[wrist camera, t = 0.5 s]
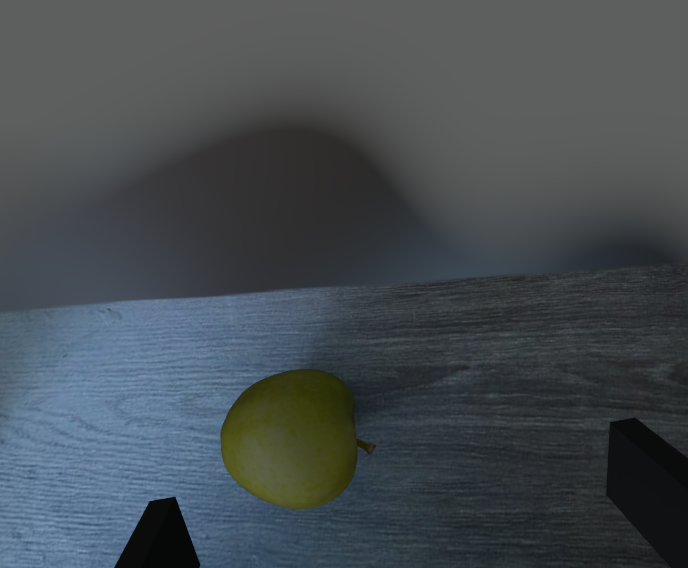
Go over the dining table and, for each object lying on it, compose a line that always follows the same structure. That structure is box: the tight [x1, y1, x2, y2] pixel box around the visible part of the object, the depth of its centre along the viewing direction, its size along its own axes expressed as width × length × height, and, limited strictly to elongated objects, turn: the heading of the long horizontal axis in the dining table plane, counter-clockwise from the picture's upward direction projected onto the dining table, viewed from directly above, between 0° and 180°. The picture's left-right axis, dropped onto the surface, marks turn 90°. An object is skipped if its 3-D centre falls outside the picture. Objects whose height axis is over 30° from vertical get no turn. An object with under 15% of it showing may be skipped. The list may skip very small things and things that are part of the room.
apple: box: [220, 369, 375, 509], centre depth 23 cm, size 8×9×8 cm
